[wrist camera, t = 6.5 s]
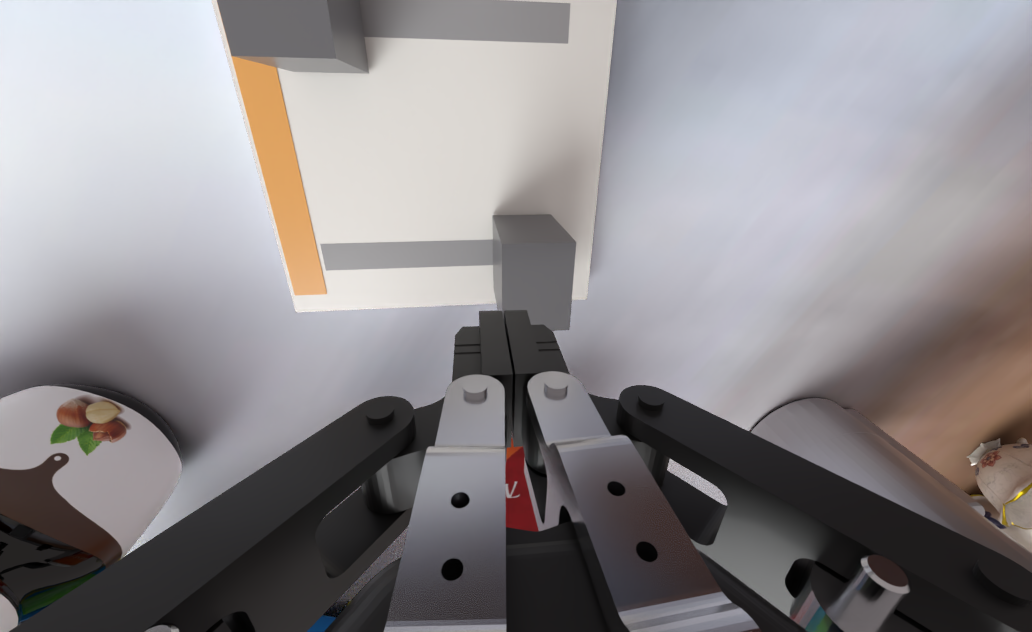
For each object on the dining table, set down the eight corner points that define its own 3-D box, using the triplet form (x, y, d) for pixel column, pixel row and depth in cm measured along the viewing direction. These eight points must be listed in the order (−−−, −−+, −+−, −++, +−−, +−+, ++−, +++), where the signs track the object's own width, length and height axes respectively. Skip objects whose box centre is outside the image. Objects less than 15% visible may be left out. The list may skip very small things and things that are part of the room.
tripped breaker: (550, 214, 20) (576, 242, 16) (547, 286, 22) (569, 329, 18) (492, 215, 20) (501, 244, 15) (493, 288, 22) (502, 333, 17)
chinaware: (969, 391, 37) (1293, 572, 22) (1100, 431, 39) (1470, 618, 24) (792, 574, 48) (925, 778, 33) (903, 596, 50) (1073, 795, 35)
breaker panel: (607, -49, 18) (623, -68, 16) (577, 286, 25) (587, 299, 23) (216, -73, 16) (184, -97, 14) (308, 296, 23) (295, 312, 21)
